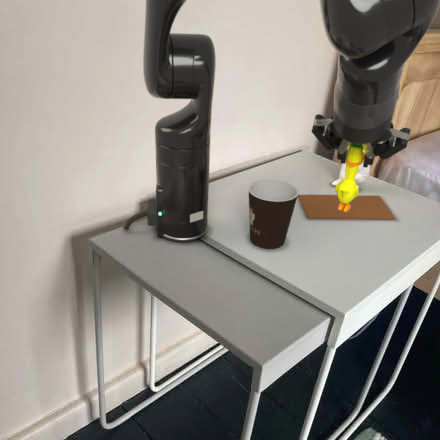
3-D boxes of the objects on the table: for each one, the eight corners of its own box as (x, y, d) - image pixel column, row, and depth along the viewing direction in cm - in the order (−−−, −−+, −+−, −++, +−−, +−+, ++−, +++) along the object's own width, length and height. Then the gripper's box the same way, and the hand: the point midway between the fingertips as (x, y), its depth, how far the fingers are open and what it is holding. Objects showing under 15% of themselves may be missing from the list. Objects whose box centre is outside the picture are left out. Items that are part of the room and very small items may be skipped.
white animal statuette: (322, 185, 113) (332, 132, 106) (340, 177, 116) (350, 126, 109) (354, 198, 108) (366, 144, 101) (371, 190, 112) (384, 137, 105)
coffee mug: (288, 255, 88) (296, 204, 82) (240, 248, 89) (244, 197, 83) (293, 224, 97) (301, 176, 91) (250, 218, 98) (254, 171, 92)
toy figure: (339, 197, 84) (355, 126, 77) (360, 202, 82) (377, 131, 75) (327, 213, 79) (342, 139, 72) (349, 219, 78) (366, 144, 71)
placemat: (307, 218, 99) (308, 216, 99) (298, 196, 107) (298, 194, 107) (394, 219, 101) (395, 217, 100) (378, 197, 109) (379, 195, 108)
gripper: (301, 119, 62) (305, 174, 79) (417, 137, 59) (395, 190, 76) (316, 65, 63) (317, 131, 80) (430, 80, 60) (406, 145, 77)
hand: (355, 159), depth 78 cm, fingers closed on toy figure, 3 cm apart
